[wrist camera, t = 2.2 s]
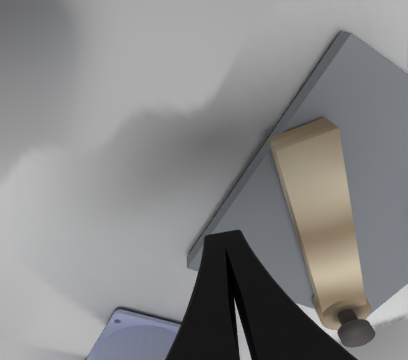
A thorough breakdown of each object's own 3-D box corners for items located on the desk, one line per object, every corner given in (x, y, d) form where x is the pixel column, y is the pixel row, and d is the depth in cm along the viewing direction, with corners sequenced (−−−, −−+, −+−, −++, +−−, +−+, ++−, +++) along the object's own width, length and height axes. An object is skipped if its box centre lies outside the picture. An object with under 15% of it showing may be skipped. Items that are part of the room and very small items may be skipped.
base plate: (353, 312, 26) (359, 323, 25) (186, 256, 21) (187, 267, 20) (526, 164, 19) (543, 172, 18) (340, 31, 14) (351, 33, 13)
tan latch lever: (362, 303, 23) (387, 343, 20) (316, 316, 23) (335, 358, 21) (330, 114, 15) (365, 140, 12) (261, 141, 15) (280, 171, 13)
